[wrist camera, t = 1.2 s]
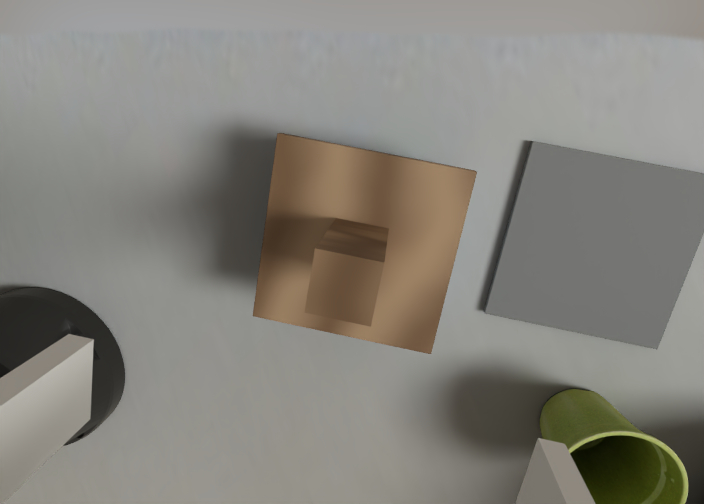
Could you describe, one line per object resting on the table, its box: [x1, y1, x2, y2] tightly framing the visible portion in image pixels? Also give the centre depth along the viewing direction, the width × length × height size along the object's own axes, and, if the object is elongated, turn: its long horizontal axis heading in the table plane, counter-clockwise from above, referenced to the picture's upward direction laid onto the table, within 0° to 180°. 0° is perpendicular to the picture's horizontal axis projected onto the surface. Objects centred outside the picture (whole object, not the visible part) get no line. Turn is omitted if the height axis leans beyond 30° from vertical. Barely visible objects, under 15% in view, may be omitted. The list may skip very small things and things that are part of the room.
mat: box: [484, 141, 704, 349], centre depth 38 cm, size 14×14×1 cm
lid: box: [253, 133, 477, 354], centre depth 29 cm, size 13×13×9 cm
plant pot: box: [539, 389, 688, 504], centre depth 38 cm, size 9×9×9 cm
